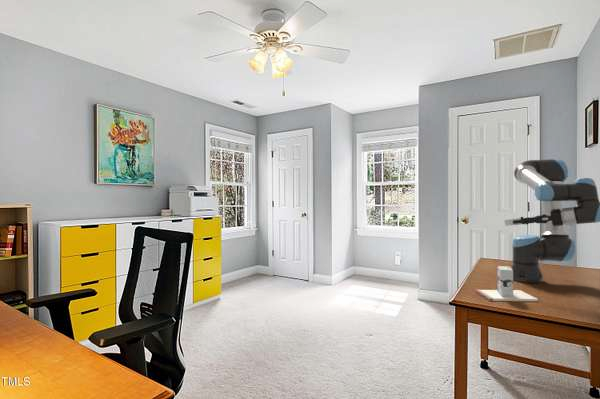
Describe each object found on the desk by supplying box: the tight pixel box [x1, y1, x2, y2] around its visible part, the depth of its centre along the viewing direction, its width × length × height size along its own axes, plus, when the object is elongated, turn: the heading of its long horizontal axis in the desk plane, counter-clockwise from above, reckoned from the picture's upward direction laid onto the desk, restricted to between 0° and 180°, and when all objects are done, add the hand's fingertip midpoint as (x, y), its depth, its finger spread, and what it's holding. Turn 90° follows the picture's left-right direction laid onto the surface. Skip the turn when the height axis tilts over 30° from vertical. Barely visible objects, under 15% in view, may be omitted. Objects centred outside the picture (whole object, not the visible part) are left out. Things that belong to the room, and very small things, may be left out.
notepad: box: [475, 289, 539, 302], centre depth 152 cm, size 20×13×1 cm, turn 86°
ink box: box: [496, 265, 514, 297], centre depth 152 cm, size 8×5×12 cm, turn 159°
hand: (507, 222), depth 163 cm, fingers open, 13 cm apart
